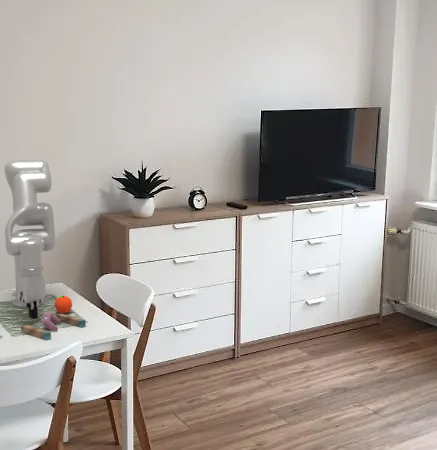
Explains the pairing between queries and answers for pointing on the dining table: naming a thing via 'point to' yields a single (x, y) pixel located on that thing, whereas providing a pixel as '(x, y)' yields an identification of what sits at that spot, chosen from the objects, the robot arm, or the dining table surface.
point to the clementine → (63, 304)
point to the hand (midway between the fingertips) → (33, 318)
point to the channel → (47, 335)
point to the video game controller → (50, 321)
